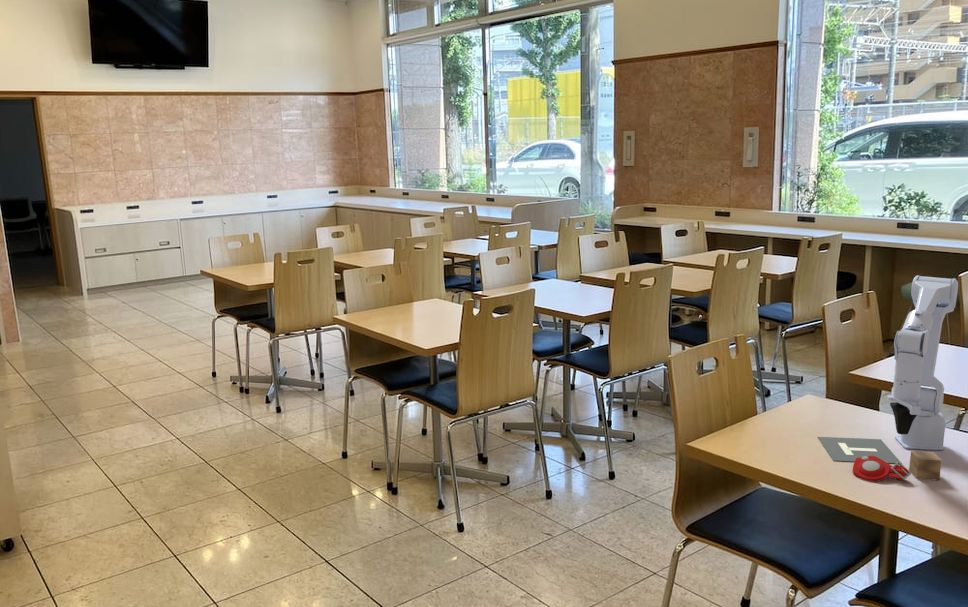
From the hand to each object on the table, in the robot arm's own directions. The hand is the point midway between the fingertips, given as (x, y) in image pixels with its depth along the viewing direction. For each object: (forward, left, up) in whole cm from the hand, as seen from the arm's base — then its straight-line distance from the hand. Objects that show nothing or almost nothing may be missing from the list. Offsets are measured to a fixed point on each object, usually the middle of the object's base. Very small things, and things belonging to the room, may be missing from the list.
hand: (902, 433), depth 193 cm
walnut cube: (-5, +3, -9) cm, 11 cm away
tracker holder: (+6, +5, -10) cm, 13 cm away
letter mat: (+6, -11, -9) cm, 15 cm away
